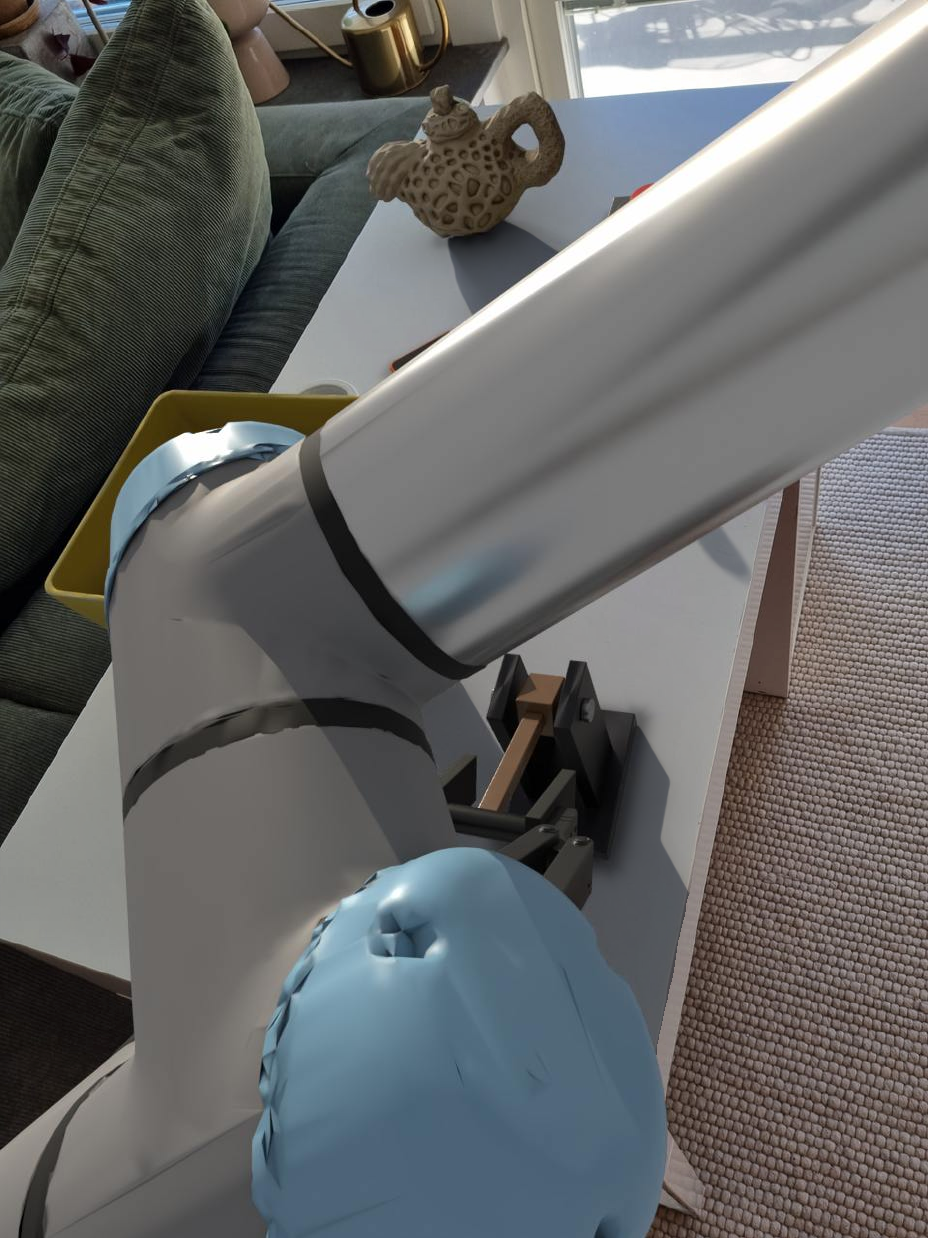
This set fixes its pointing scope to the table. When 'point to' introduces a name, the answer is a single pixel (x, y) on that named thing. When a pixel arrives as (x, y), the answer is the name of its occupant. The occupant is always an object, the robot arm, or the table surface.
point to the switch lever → (512, 764)
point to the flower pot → (169, 417)
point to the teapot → (468, 163)
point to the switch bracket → (570, 749)
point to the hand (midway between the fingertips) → (518, 785)
